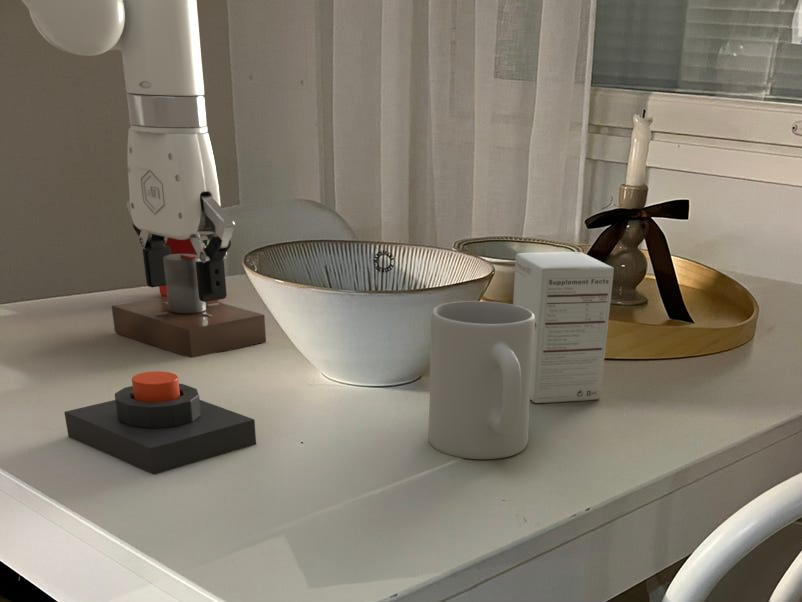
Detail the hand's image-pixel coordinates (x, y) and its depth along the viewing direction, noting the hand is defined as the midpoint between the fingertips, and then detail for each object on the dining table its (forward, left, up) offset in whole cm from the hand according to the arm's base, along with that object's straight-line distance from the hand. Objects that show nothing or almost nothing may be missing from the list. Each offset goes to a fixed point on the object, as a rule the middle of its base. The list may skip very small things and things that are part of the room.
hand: (186, 292), depth 112 cm
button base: (+26, -22, -5) cm, 34 cm away
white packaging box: (+40, +14, -5) cm, 43 cm away
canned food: (-16, +12, -5) cm, 21 cm away
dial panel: (0, 0, -5) cm, 5 cm away
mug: (+46, -4, -5) cm, 46 cm away
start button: (+26, -22, -1) cm, 34 cm away
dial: (0, 0, -2) cm, 2 cm away
